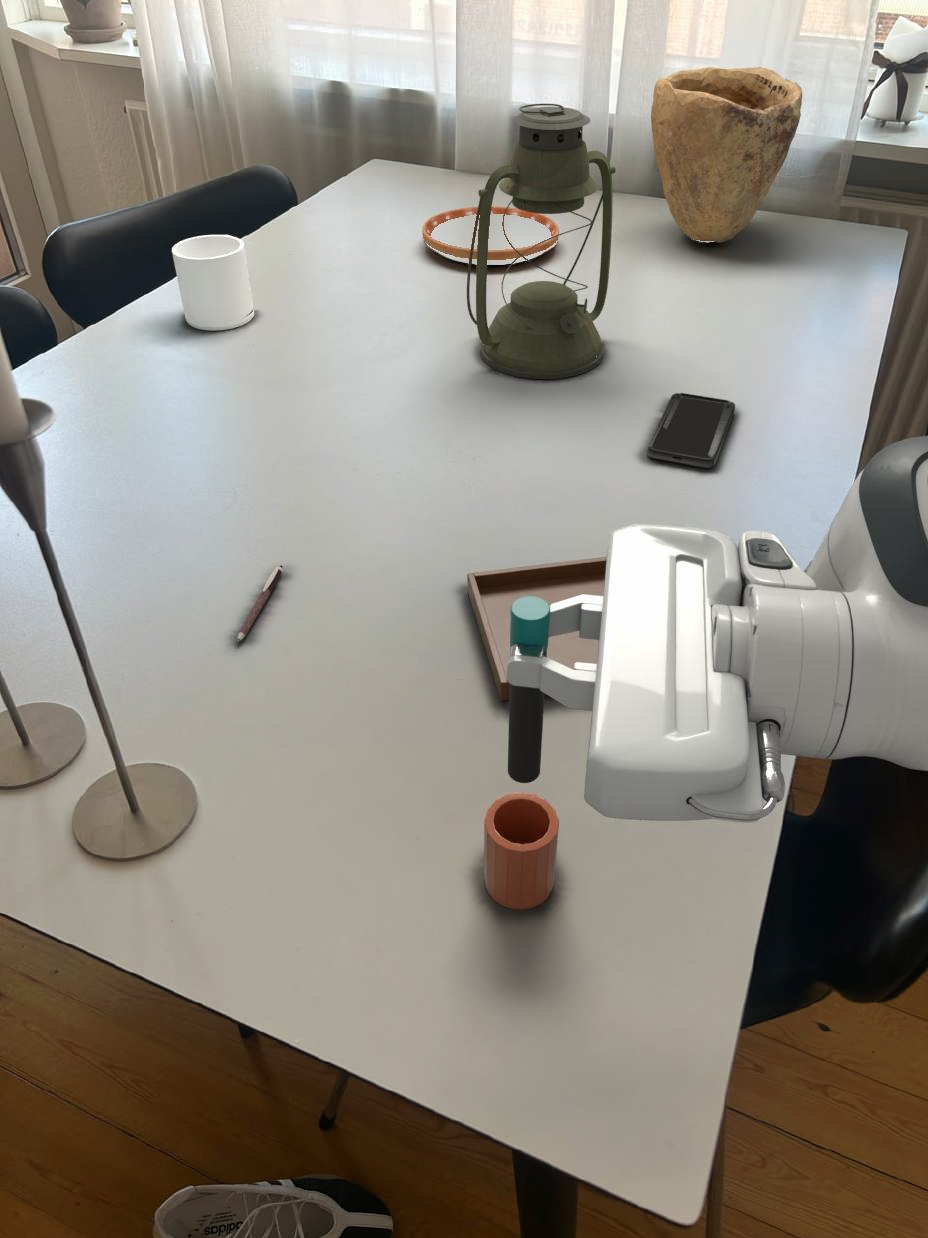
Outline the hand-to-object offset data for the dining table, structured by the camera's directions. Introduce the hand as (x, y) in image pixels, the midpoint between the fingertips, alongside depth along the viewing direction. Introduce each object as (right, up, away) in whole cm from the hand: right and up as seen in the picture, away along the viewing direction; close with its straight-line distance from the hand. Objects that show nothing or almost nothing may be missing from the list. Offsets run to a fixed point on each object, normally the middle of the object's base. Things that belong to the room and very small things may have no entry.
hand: (512, 642), depth 53 cm
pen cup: (+1, -17, +14) cm, 22 cm away
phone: (+24, +23, +62) cm, 70 cm away
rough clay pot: (+39, +66, +112) cm, 135 cm away
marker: (+1, -8, +7) cm, 10 cm away
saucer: (+2, +64, +111) cm, 128 cm away
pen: (-22, +2, +38) cm, 44 cm away
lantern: (+8, +38, +80) cm, 89 cm away
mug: (-38, +47, +91) cm, 109 cm away
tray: (+8, 0, +35) cm, 36 cm away
